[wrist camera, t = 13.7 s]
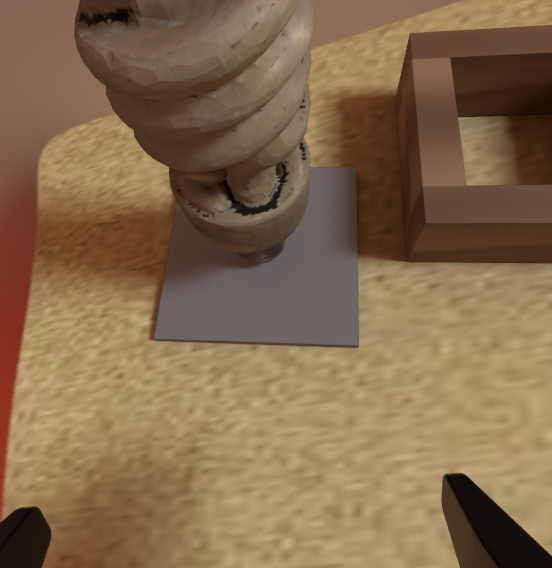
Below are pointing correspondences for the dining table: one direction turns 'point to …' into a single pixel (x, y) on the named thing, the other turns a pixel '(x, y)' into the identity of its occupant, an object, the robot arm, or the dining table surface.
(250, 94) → the light bulb
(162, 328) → the rubber mat
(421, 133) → the socket block
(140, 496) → the dining table surface
